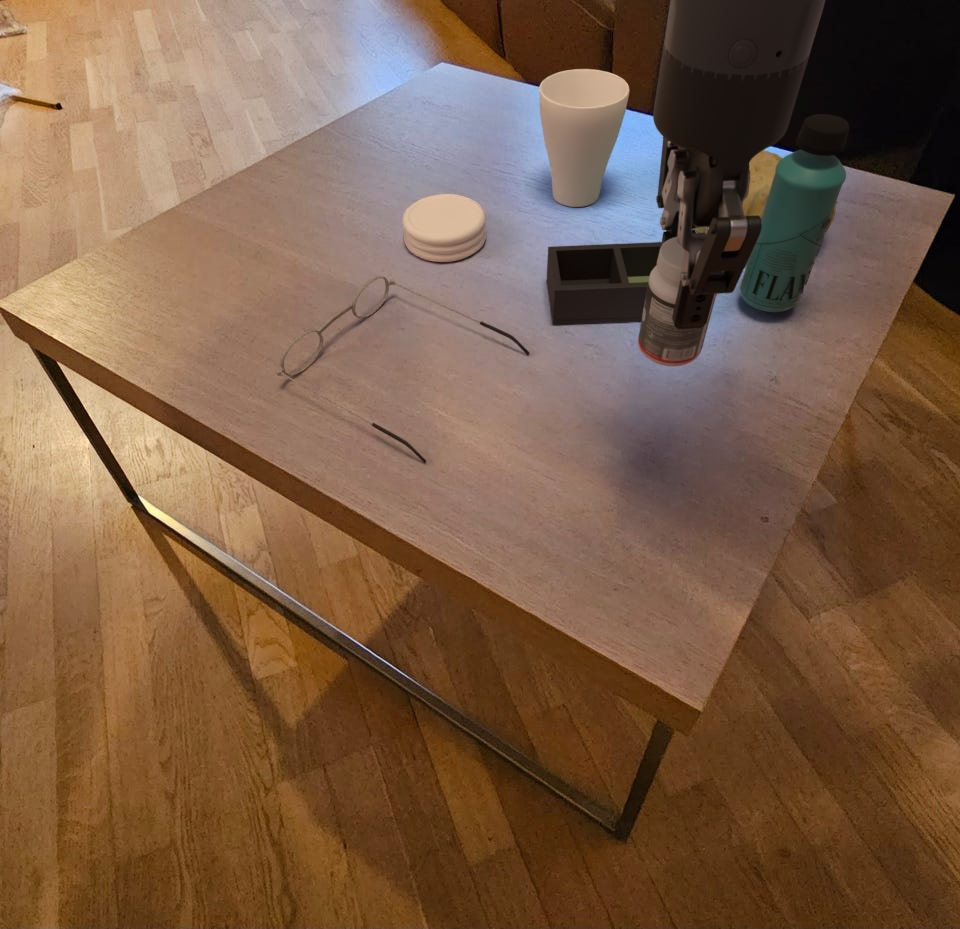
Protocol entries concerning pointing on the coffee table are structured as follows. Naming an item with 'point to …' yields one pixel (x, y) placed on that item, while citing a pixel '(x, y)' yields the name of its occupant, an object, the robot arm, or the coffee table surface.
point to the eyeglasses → (352, 306)
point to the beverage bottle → (796, 215)
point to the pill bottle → (668, 313)
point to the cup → (581, 130)
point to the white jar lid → (444, 227)
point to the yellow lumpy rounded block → (761, 185)
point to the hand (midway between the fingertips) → (679, 299)
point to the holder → (599, 282)
